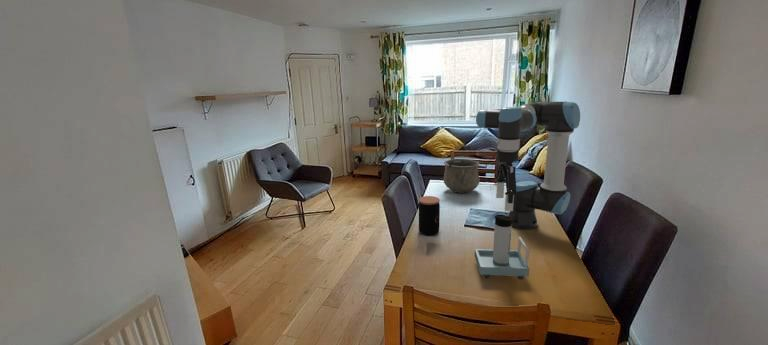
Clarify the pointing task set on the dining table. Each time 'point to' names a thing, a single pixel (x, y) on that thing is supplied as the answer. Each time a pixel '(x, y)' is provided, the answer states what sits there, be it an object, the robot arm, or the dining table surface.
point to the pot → (461, 175)
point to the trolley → (514, 267)
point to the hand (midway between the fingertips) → (504, 203)
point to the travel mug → (502, 240)
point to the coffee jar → (429, 215)
